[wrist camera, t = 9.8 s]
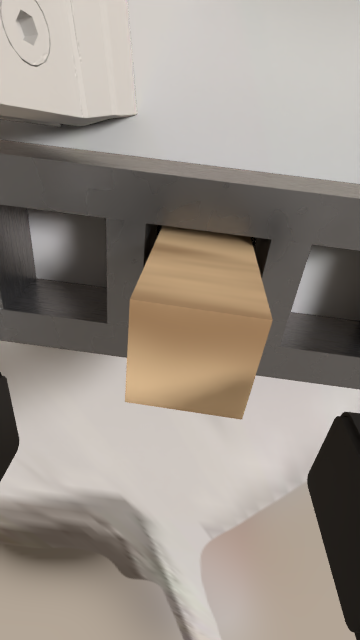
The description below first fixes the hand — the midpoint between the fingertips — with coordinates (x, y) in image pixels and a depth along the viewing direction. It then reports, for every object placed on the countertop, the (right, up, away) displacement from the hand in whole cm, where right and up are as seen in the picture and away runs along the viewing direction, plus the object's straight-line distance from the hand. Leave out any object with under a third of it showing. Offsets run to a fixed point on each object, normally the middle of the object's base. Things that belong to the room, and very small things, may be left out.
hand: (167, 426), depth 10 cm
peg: (+2, +7, +10) cm, 13 cm away
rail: (+2, +7, +10) cm, 13 cm away
